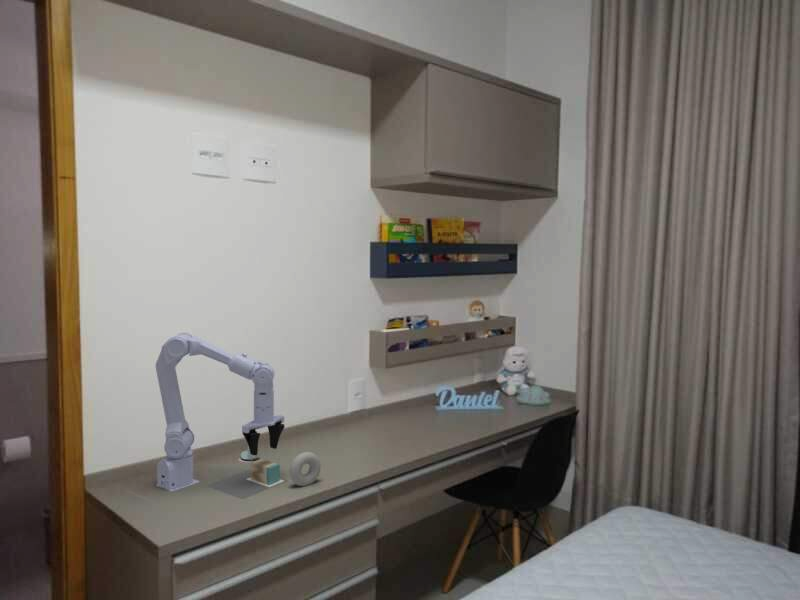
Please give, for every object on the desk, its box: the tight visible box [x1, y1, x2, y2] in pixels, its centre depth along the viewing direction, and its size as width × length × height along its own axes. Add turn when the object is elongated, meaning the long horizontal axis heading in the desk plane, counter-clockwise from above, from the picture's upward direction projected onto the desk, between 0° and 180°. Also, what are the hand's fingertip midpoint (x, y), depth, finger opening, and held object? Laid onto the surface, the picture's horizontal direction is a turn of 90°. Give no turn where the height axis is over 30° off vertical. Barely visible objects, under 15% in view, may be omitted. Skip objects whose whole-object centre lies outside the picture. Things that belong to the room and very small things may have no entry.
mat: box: [205, 469, 289, 500], centre depth 173 cm, size 17×16×1 cm
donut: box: [289, 451, 322, 487], centre depth 172 cm, size 10×4×10 cm, turn 131°
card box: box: [250, 458, 281, 485], centre depth 175 cm, size 8×4×5 cm, turn 55°
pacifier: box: [238, 445, 261, 463], centre depth 193 cm, size 7×6×6 cm
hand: (263, 451), depth 175 cm, fingers open, 7 cm apart
